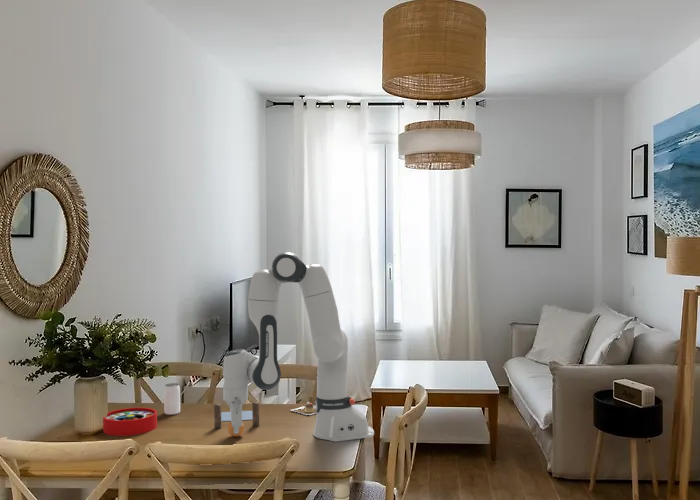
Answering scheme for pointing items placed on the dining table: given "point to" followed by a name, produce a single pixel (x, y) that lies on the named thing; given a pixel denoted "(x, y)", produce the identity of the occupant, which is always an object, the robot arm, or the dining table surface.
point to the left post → (217, 416)
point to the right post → (255, 413)
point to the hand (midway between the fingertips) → (236, 432)
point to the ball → (231, 430)
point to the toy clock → (130, 421)
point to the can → (172, 399)
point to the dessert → (306, 408)
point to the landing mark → (245, 416)
